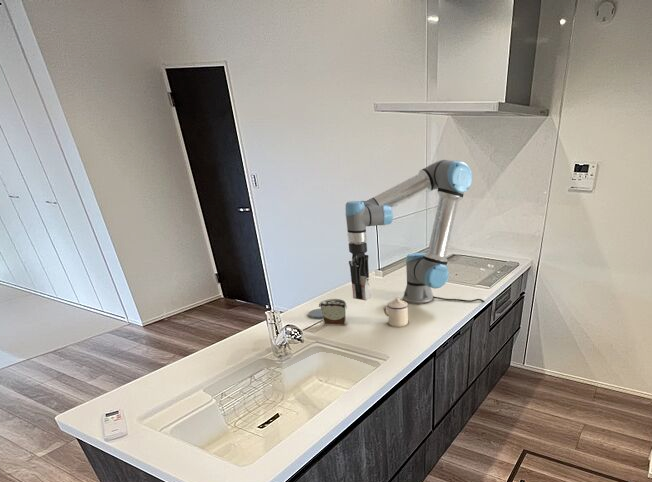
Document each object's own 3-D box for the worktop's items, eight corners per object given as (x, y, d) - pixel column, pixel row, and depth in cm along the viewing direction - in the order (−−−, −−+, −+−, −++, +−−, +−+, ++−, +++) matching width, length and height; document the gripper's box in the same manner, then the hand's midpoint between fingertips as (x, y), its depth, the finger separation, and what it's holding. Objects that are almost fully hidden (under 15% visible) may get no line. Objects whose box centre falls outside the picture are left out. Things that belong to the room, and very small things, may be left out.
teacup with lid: (412, 321, 195) (411, 297, 189) (401, 328, 188) (400, 302, 182) (389, 317, 200) (388, 292, 194) (378, 323, 193) (377, 298, 187)
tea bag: (358, 295, 194) (356, 273, 188) (370, 298, 191) (369, 275, 186) (353, 298, 191) (351, 275, 185) (365, 300, 188) (364, 278, 183)
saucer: (337, 312, 204) (336, 310, 204) (324, 320, 196) (324, 317, 195) (317, 309, 207) (316, 307, 207) (304, 316, 199) (303, 314, 198)
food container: (351, 320, 196) (349, 299, 190) (348, 325, 190) (346, 303, 185) (325, 319, 196) (322, 297, 191) (321, 324, 191) (318, 302, 186)
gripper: (359, 237, 186) (363, 290, 199) (339, 245, 172) (344, 301, 185) (374, 239, 184) (377, 292, 197) (355, 247, 170) (360, 304, 183)
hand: (361, 296), depth 191 cm, fingers closed on tea bag, 4 cm apart
